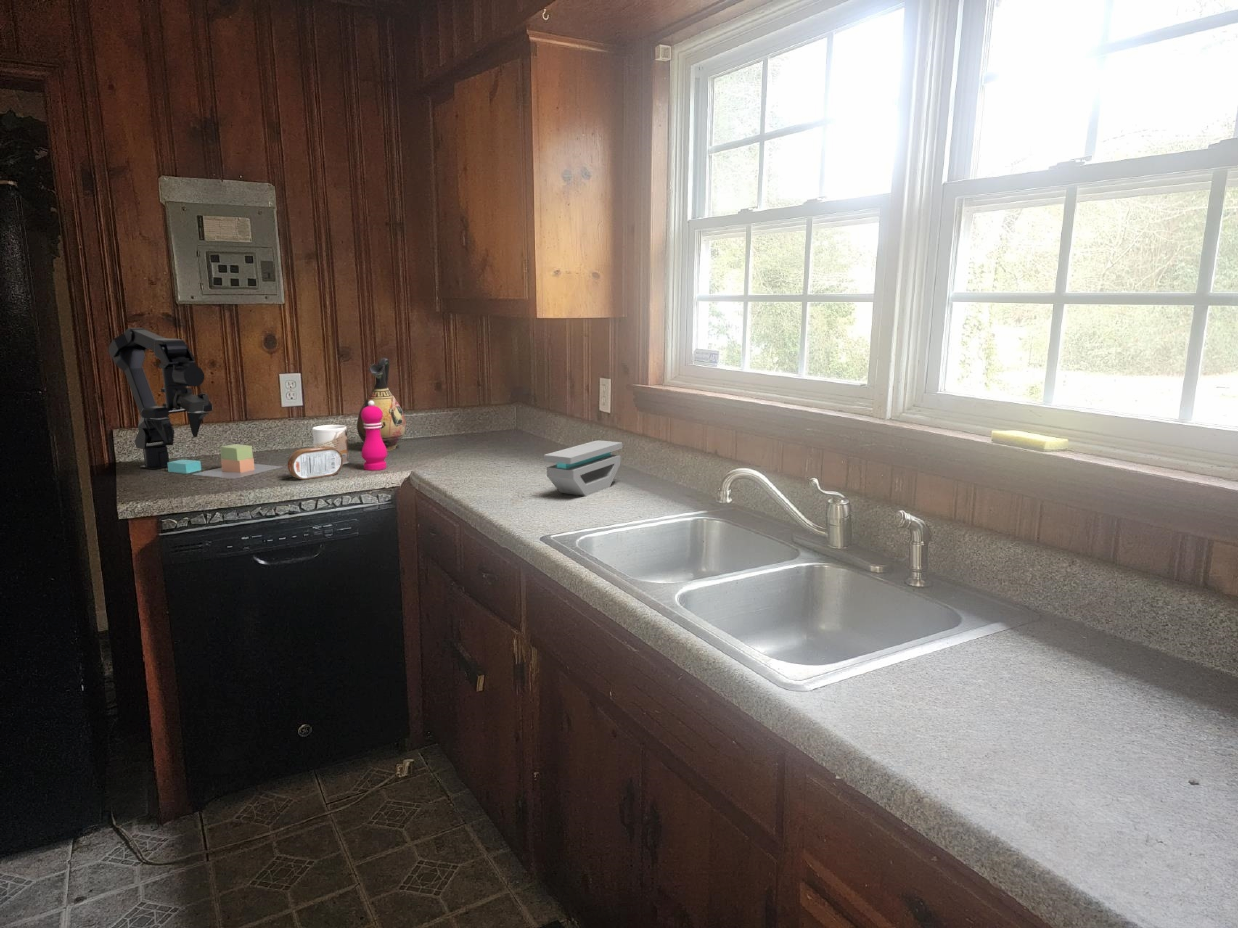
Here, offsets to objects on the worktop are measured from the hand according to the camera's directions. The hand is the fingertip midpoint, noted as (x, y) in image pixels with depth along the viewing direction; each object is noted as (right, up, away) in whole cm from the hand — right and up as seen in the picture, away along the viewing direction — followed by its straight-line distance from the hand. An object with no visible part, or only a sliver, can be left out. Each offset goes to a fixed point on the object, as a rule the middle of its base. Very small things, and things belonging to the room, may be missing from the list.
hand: (181, 439), depth 229 cm
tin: (+41, -11, -5) cm, 42 cm away
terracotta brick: (+15, -9, +2) cm, 18 cm away
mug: (+38, -7, +17) cm, 42 cm away
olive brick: (+15, -5, +1) cm, 16 cm away
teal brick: (0, -10, +2) cm, 10 cm away
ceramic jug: (+46, -2, +40) cm, 61 cm away
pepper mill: (+53, -8, +7) cm, 54 cm away
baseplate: (+15, -9, +2) cm, 18 cm away
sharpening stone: (+116, -14, -21) cm, 119 cm away
